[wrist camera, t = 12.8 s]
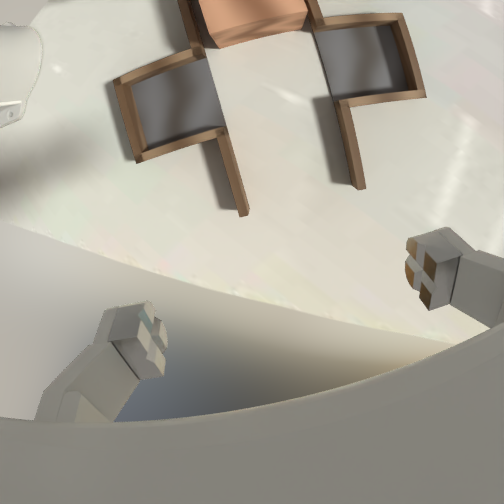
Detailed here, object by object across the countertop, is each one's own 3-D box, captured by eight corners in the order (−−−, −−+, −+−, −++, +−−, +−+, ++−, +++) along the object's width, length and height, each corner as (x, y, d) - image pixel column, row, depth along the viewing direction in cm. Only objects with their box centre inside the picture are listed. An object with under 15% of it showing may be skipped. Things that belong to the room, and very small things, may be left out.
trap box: (168, 229, 41) (161, 237, 38) (105, 6, 29) (95, 1, 26) (428, 170, 36) (439, 174, 33) (361, -55, 24) (367, -65, 21)
